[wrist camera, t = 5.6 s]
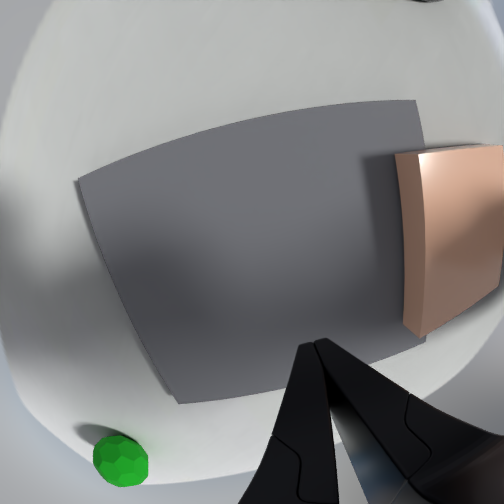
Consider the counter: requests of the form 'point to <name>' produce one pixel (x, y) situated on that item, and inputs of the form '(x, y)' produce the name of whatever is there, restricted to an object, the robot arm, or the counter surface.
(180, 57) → the counter surface
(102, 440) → the polyhedron
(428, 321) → the tile
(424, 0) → the supplement bottle
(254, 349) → the mat
